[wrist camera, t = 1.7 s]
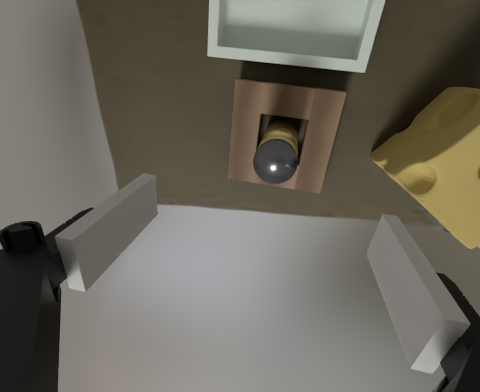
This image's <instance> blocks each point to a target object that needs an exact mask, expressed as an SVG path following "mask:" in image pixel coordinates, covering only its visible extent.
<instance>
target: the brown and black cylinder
mask: <svg viewBox="0 0 480 392" xmlns="http://www.w3.org/2000/svg"><path fill="white" fill-rule="evenodd" d="M297 165H298V133H297V129H296V127H295V125H294V124H293V123H292V122H290V121H288V120H285V119H279V120H276V121H274V122H272V123H271V124H270V125H269V127H268V128H267V130H266V132H265V134H264V137H263V139H262V141H261V143H260V145H259V147H258V149H257V151H256V153H255V155H254V158H253V167H254V170H255V172H256V174H257V175H258V177H259V178H261V179H262V180H263V181H265V182H267V183H271V184H280V183H283V182H286V181H288V180H289V179H290V178H291V177H292V176H293V175H294V174H295V172H296V170H297Z"/></svg>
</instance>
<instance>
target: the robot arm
mask: <svg viewBox="0 0 480 392" xmlns="http://www.w3.org/2000/svg"><path fill="white" fill-rule="evenodd" d="M157 214H158V212H157V196H156V180H155V175H150V174H144V173H143V174H142V175H141V176H139V177H138V178H136V179H135V180H133V181H132V182H131V183H129V184H128V185H126V186H125V187H124V188H122V189H121V190H119V191H118V192H117V193H115V194H114V195H112V196H111V197H109V198H108V199H107V200H105V201H104V202H102V203H101V204H100V205H98V206H97V207H95V208H89V209H87V210H84V211H81V212H80V213H78V214H77V215H75V216H74V217H73V218H72V219H69V220H68V221H66V223H63V224H62V225H61V226H59V227H58V228H56V229H55V230H53V231H52V232H51V233H49V234H47V235H46V236H44V233H43V230H42V227H41V224H40V223H38V222H34V221H26V222H19V223H15V224H12V225H9V226H7V227H5V228H4V229H2V230H1V231H0V243H1V245H2V247H3V249H1V250H0V392H58V368H59V340H60V312H61V288H60V284H61V283H62V282H63V281H64V280H65V279H66V278H67V281H68V285H69V288H71V289H75V290H79V291H84V292H86V291H87V290H88V289H89V288H90V287H91V285H92V284H93V283H94V282H95V281H96V280H97V279H98V278H99V277H100V276H101V275H102V274H103V272H104V271H105V270H106V269H107V268H108V267H109V266H110V265H111V264H112V263H113V262H114V261H115V260H116V259H117V258H118V256H119V255H120V254H121V253H122V252H123V251H124V250H125V249H126V248H127V247H128V246H129V244H131V242H132V241H133V240H134V239H135V238H136V237H137V236H138V235H139V234H140V233H141V232H142V231H143V229H144V228H145V227H146V226H147V225H148V224H149V223H150V222H151V221H152V220H153V219H154V218H155V217H156V215H157ZM367 256H368V259H369V262H370V264H371V267H372V270H373V272H374V275H375V278H376V280H377V283H378V286H379V288H380V291H381V293H382V296H383V299H384V301H385V304H386V306H387V309H388V312H389V314H390V317H391V320H392V322H393V325H394V327H395V330H396V333H397V335H398V338H399V341H400V343H401V346H402V348H403V351H404V354H405V356H406V358H407V362H408V364H409V367H410V369H414V370H418V371H423V372H427V373H431V374H433V373H434V371H435V370H436V369H437V367H438V366H439V365H440V364H441V366H442V368H443V370H444V372H445V374H446V376H445V377H444V378H443V380H442V381H441V382H440V383H439V384H438V386H437V387H436V388H435V389H434V391H433V392H480V317H479V315H478V314H477V313H476V311H475V310H474V309H473V307H472V306H471V305H470V304H469V302H468V300H467V299H466V298H465V296H463V294H462V292H461V291H460V290H459V288H458V287H457V285H456V284H455V283H454V282H452V281H451V280H450V279H449V278H448V277H447V276H445V275H444V274H441V273H436V272H435V271H434V269H433V268H432V266H431V265H430V263H429V262H428V260H427V259H426V258H425V256H424V255H423V253H422V252H421V250H420V249H419V247H418V246H417V244H416V243H415V242H414V240H413V239H412V237H411V236H410V234H409V233H408V231H407V230H406V228H405V227H404V225H403V224H402V222H401V221H400V219H399V218H398V216H392V215H386V214H382V216H381V219H380V221H379V224H378V226H377V229H376V231H375V234H374V236H373V238H372V241H371V243H370V246H369V248H368V251H367Z"/></svg>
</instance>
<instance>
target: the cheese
mask: <svg viewBox="0 0 480 392" xmlns="http://www.w3.org/2000/svg"><path fill="white" fill-rule="evenodd" d="M371 158H372V160H373V161H374V162H375V163H376V164H377V165H378V166H380V167H381V168H382V169H384V170H385V172H386V173H387V174H388V175H389V176H390V177H391V178H392V179H393V180H395V181H396V182H397V183H398V184H400V185H401V186H402V187H403V188H404V189H405V190H406V191H408V192H409V193H410V194H411V195H412V196H413V197H414V198H415V199H416V200H417V201H418V202H419V203H420V204H422V205H423V206H424V207H425V208H426V209H427V210H428V211H429V212H430V213H431V214H432V215H433V216H434V217H435V218H436V219H437V220H438V221H439V222H440V223H441V224H442V225H443V226H444V227H445V228H446V229H447V230H449V231H450V232H451V233H452V234H453V235H454V236H455V237H456V238H457V239H458V240H459V241H460V242H461V243H463V244H464V245H465V246H467V247H468V248H469V249H473V248H475V247H477V246H478V245H480V89H477V88H469V87H448V88H446V89H445V90H444V91H443V92H442V93H441V94H439V95H438V96H437V97H436V98H435V99H434V100H433V101H432V102H431V103H429V104H428V105H427V106H426V107H425V108H424V109H423V110H422V111H421V112H420V113H419V114H418V115H417V116H416V117H415V118H414V120H413V121H412V123H411V125H410V126H409V127H408V128H407V129H405V130H404V131H402V132H400V133H396V134H394V135H393V136H392V137H390V138H389V139H388V140H387V141H386V142H384V143H383V144H382V145H380V146H379V147H378V148H377V149H375V150H374V151H373V152H372V153H371Z"/></svg>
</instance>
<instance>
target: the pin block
mask: <svg viewBox="0 0 480 392" xmlns="http://www.w3.org/2000/svg"><path fill="white" fill-rule="evenodd" d="M346 93H347V92H345V91H342V90H334V89H325V88H316V87H308V86H299V85H290V84H282V83H273V82H264V81H256V80H247V79H236V80H235V93H234V105H233V118H232V130H231V143H230V156H229V168H228V178H229V179H235V180H241V181H247V182H253V183H259V184H265V185H271V186H277V187H283V188H289V189H295V190H301V191H307V192H313V193H318V194H320V191H321V188H322V184H323V180H324V176H325V172H326V169H327V165H328V161H329V157H330V154H331V150H332V146H333V142H334V138H335V135H336V131H337V127H338V123H339V120H340V116H341V112H342V108H343V104H344V101H345V97H346ZM263 114H269V115H276V116H284V117H291V118H299V119H306V120H307V123H306V128H305V133H304V138H303V142H302V147H301V152H300V157H299V159H298V165H297V170H296V172H295V174H294V175H293V176H292V177H291V178H290V179H289V180H288V181H286V182H283V183H280V184H271V183H267V182H265V181H263V180H262V179H261V178H259V177H258V175H257V174H256V172H255V170H254V167H253V158H254V155H255V153H256V151H257V149H258V145H259V138H260V130H261V122H262V115H263Z"/></svg>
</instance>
